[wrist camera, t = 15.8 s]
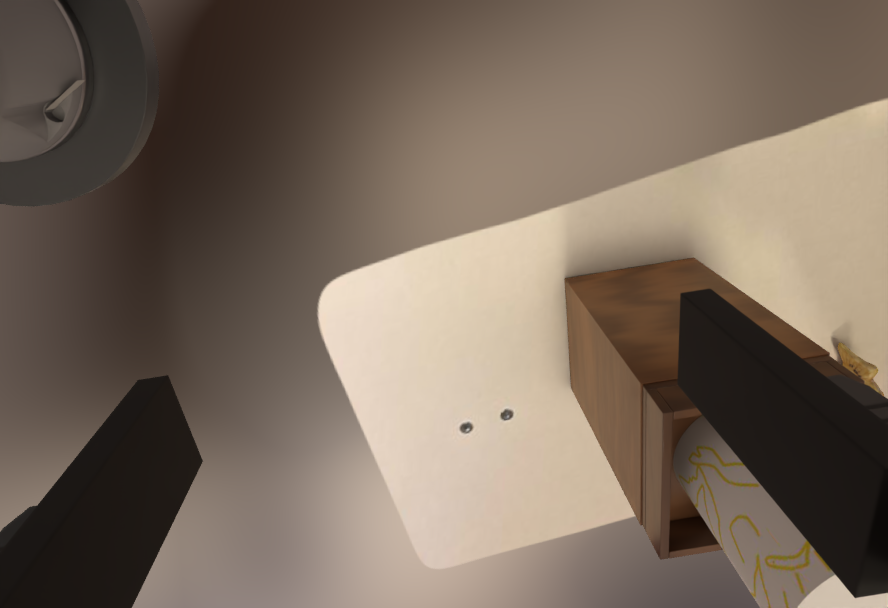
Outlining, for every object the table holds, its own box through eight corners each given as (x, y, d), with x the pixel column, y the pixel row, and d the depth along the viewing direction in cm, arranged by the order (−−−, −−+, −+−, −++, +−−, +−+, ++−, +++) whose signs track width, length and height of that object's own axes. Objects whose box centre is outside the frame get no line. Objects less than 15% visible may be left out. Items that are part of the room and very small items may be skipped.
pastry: (855, 397, 60) (892, 426, 55) (840, 403, 60) (877, 432, 55) (841, 331, 56) (880, 356, 51) (826, 337, 56) (864, 363, 52)
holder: (641, 524, 40) (660, 560, 37) (642, 384, 35) (663, 413, 32) (805, 497, 40) (836, 531, 37) (828, 354, 35) (865, 380, 32)
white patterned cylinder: (684, 402, 35) (811, 559, 24) (809, 396, 36) (988, 548, 25) (664, 502, 39) (768, 680, 28) (779, 495, 39) (925, 668, 28)
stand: (571, 388, 57) (640, 525, 40) (564, 278, 52) (640, 383, 35) (689, 369, 57) (806, 498, 40) (693, 257, 52) (830, 353, 35)
